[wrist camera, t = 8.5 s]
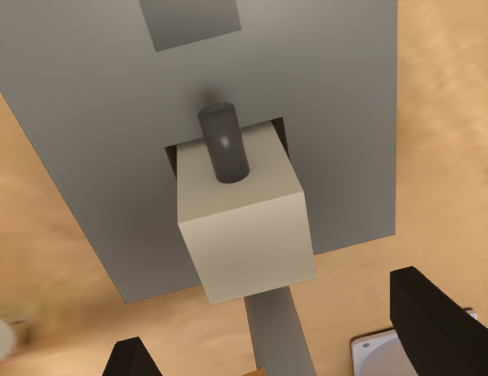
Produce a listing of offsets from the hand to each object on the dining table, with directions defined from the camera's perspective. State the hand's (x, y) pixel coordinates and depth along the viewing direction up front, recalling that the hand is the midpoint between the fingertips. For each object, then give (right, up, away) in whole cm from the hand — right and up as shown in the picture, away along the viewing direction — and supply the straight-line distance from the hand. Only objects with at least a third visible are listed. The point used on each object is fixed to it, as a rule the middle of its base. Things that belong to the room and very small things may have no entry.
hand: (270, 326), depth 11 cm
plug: (-2, +7, +8) cm, 10 cm away
